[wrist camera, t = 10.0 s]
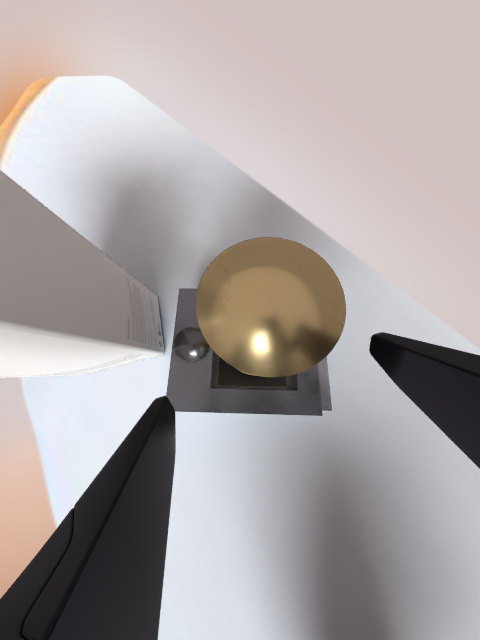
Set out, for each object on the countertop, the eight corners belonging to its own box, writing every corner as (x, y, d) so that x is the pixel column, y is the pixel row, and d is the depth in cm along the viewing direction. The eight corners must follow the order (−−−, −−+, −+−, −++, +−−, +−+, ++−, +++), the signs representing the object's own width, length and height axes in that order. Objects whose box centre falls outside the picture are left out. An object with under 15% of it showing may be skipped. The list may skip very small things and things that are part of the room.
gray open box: (312, 307, 19) (333, 286, 14) (321, 406, 16) (350, 418, 12) (192, 305, 19) (176, 285, 15) (183, 402, 16) (160, 412, 12)
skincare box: (159, 296, 19) (-130, 31, 4) (167, 360, 18) (-280, 279, 3) (77, 314, 19) (-542, 93, 4) (77, 381, 17) (-1052, 431, 2)
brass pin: (281, 346, 18) (370, 280, 5) (258, 383, 17) (298, 412, 4) (245, 323, 18) (248, 216, 6) (221, 358, 17) (165, 319, 5)
